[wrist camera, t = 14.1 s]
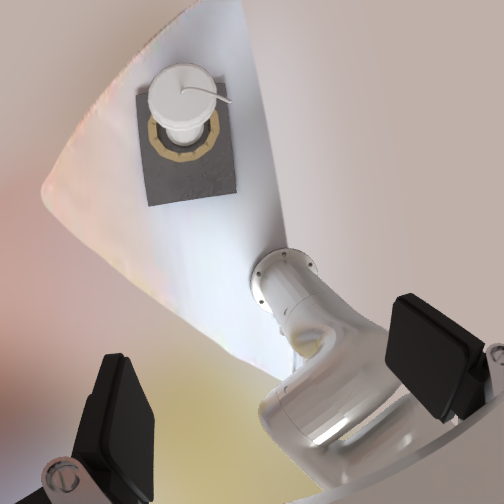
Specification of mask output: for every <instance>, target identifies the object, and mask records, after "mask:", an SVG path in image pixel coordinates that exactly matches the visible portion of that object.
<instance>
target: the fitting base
mask: <svg viewBox="0 0 504 504" xmlns="http://www.w3.org/2000/svg"><path fill="white" fill-rule="evenodd" d="M216 87H217V94H218V95H220V96H223V97H225V98H226V88H225V83H217V84H216ZM136 106H137V118H138V129H139V139H140V148H141V157H142V165H143V172H144V180H145V187H146V193H147V200H148V206H149V207H150V206H155V205H161V204H167V203H173V202H179V201H185V200H192V199H198V198H205V197H212V196H219V195H226V194H233V193H237V190H236V181H235V172H234V163H233V154H232V145H231V136H230V126H229V117H228V107H227V102H225V101H223V100H221V99H219V98H216V106H215V108H214V110H213V112H212V114H211V117H210V118H209V119H208V120H207V121H206V122H205V123H204V129H203V133H202V135H201V137H200V139H199V140H198V141H196V142H195V143H194V144H191V145H189V146H179V145H177V144H174V143H173V142H172V141H171V140H170V139H169V138H168V135H167V133H166V128H164V127H162V126H161V125H160V124H159V123H158V122H157V121H156V120H155V119H154V118H153V116H152V114H151V111H150V108H149V104H148V93H145V94H140V95H136Z"/></svg>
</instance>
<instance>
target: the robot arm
mask: <svg viewBox="0 0 504 504" xmlns="http://www.w3.org/2000/svg"><path fill="white" fill-rule="evenodd" d="M283 252H284V254H282V253H283ZM257 272H259V273H257ZM251 292H252V295H253V297H254V299H255V301H256V303H257V304H258V305H259V306H260V307H261V308H262V309H264V310H265V311H267V312H270V313H272V314H273V315H274V317H275V319H276V321H277V322H278V324H279V328H280V334H281V335H284V336H285V337H286V338H287V340H288V342H289V344H290V345H291V347H292V348H293V350H294V351H295V352H296V353H297V354H299V355H300V356H301V357H303V358H305V359H307V361H306V362H305V364H304V365H302V366H301V367H300V368H299V369H298V370H296V371H295V372H294V373H293V374H292V375H290V376H289V377H288V378H287V379H286V380H284V381H283V382H282V383H281V384H279V385H278V386H277V387H276V388H274V389H273V390H272V391H271V392H270V393H268V394H267V395H266V396H265V397H264V399H263V400H262V401H261V403H260V405H259V409H258V415H259V420H260V422H261V425H262V427H263V429H264V430H265V432H266V433H267V435H268V436H269V437H270V439H271V440H272V441H273V442H274V443H275V445H276V446H277V447H278V448H279V449H280V450H281V451H282V452H283V453H284V454H285V455H286V456H287V457H288V458H289V459H290V460H291V461H292V462H293V463H294V464H295V465H296V466H297V467H299V469H301V470H302V471H303V472H304V473H305V474H306V475H307V476H308V477H309V478H310V479H312V481H313V482H315V483H316V484H317V485H318V486H319V487H320V488H321V489H322V490H323V491H324V492H322V493H319V494H316V495H313V496H310V497H306V498H303V499H299V500H296V501H292V502H289V503H285V504H504V344H500V343H497V344H493V345H490V346H489V347H488V348H487V351H486V353H484V352H483V348H484V345H485V343H483V342H482V341H481V340H479V339H478V338H477V337H475V336H474V335H473V334H471V333H470V332H468V331H467V330H465V329H464V328H463V327H461V326H460V325H458V324H457V323H456V322H454V321H453V320H451V319H450V318H448V317H447V316H445V315H444V314H443V313H441V312H440V311H438V310H437V309H435V308H434V307H432V306H431V305H429V304H428V303H426V302H425V301H423V300H422V299H420V298H419V297H417V296H415V295H414V294H412V293H408V294H405V295H402V296H399V297H397V299H396V301H395V302H394V304H393V308H392V316H391V323H390V330H389V331H387V330H386V329H384V328H383V327H381V326H379V325H377V324H376V323H374V322H372V321H370V320H369V319H367V318H365V317H364V316H362V315H361V314H359V313H358V312H357V311H355V310H354V309H353V308H352V307H351V306H350V305H349V304H347V303H346V302H345V301H344V300H343V299H342V298H341V297H340V296H339V295H338V294H336V293H335V292H334V291H333V290H332V289H331V288H330V287H329V286H328V285H327V284H326V283H325V282H323V281H322V280H321V279H320V278H319V277H318V271H317V268H316V265H315V264H314V262H313V260H311V258H310V257H309V256H308V255H306V254H305V253H303V252H302V251H299V250H296V249H291V248H285V249H279V250H276V251H273V252H271V253H269V254H268V255H266V256H265V257H264V258H263V259H262V260H261V261H260V262H259V263H258V264H257V266H256V267H255V269H254V271H253V274H252V277H251ZM260 300H261V301H260ZM402 383H403V384H404V385H405V387H407V389H408V390H409V391H410V392H411V393H409V394H406V395H404V396H403V397H401V398H399V399H398V400H397V401H395V402H394V403H393V404H391V405H390V406H389V407H388V408H386V409H385V410H384V411H383V412H382V413H380V414H379V415H378V416H377V417H376V418H374V419H373V420H372V421H371V422H369V423H368V424H367V425H366V426H364V427H363V428H362V429H361V430H359V431H358V432H357V433H355V434H354V435H353V436H351V437H350V438H349V439H347V440H344V441H341V440H338V439H339V438H340V437H341V436H343V435H344V434H345V433H347V432H348V431H349V430H351V429H352V428H353V427H355V426H356V425H357V424H359V423H360V422H362V421H363V420H364V419H365V418H367V417H368V416H369V415H371V414H372V413H373V412H374V411H375V410H376V409H378V408H379V407H380V406H381V405H382V404H383V403H385V402H386V401H387V400H388V399H389V398H390V397H391V396H392V395H393V394H394V393H395V391H396V390H397V389H398V388H399V386H400V385H401V384H402ZM455 414H456V415H457V416H458V425H457V426H455V425H454V424H453V423H452V422H451V419H452V418H453V417H454V416H455ZM154 424H155V419H154V414H153V412H152V409H151V407H150V405H149V403H148V401H147V399H146V396H145V394H144V392H143V390H142V387H141V385H140V383H139V380H138V378H137V376H136V373H135V371H134V368H133V366H132V363H131V361H130V359H129V358H128V357H124V355H123V354H122V353H116V354H106V355H105V356H104V358H103V361H102V364H101V367H100V370H99V373H98V376H97V379H96V382H95V385H94V388H93V392H92V394H90V395H89V396H88V398H87V400H86V404H85V407H84V410H83V414H82V417H81V421H80V425H79V428H78V432H77V436H76V439H75V443H74V447H73V451H72V456H71V457H58V458H56V459H53V460H52V461H50V462H49V463H47V465H46V466H45V467H44V469H43V472H42V475H41V482H42V485H43V487H41V488H40V489H38V490H37V491H35V492H33V493H32V494H30V495H28V496H27V497H25V498H24V499H22V500H20V501H18V502H17V503H15V504H149V502H152V501H153V499H154V492H153V490H154V488H153V461H154V460H153V459H154Z"/></svg>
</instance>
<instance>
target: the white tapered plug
mask: <svg viewBox="0 0 504 504" xmlns="http://www.w3.org/2000/svg"><path fill="white" fill-rule="evenodd" d="M216 98H219V99H221V100H223V101H225V102H227V103H229V104H231V103H232V101H231V100H229V99H227V98H225V97H223V96H220V95H218V94H217V87H216V84H215V82H214V79H213V77H212V76H211V75H210V74H209V73H208V72H207V71H206V70H205V69H204V68H202V67H199V66H197V65H194V64H191V63H181V64H175V65H172V66H170V67H167V68H165V69H164V70H162V71H161V72H160V73H159V74H158V75H157V76H155V77H154V79H153V81H152V83H151V85H150V87H149V89H148V104H149V108H150V111H151V114H152V116H153V118H154V119H155V120H156V121H157V122H158V123H159V124H160V125H161V126H162V127H164V128H166V133H167V135H168V138H169V139H170V140H171V141H172V142H173V143H174V144H177V145H179V146H189V145H191V144H194V143H195V142H196V141H198V140H199V139H200V137H201V135H202V133H203V129H204V123H205V122H206V121H207V120H208V119H209V118H210V117H211V114H212V112H213V110H214V108H215V106H216Z"/></svg>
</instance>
